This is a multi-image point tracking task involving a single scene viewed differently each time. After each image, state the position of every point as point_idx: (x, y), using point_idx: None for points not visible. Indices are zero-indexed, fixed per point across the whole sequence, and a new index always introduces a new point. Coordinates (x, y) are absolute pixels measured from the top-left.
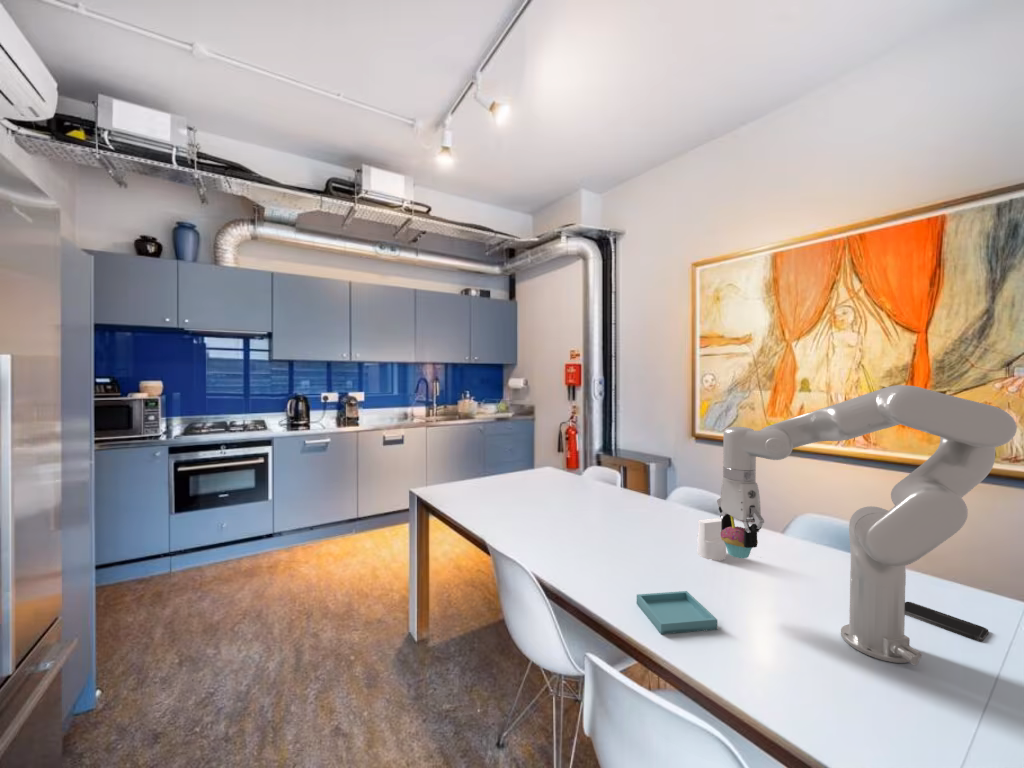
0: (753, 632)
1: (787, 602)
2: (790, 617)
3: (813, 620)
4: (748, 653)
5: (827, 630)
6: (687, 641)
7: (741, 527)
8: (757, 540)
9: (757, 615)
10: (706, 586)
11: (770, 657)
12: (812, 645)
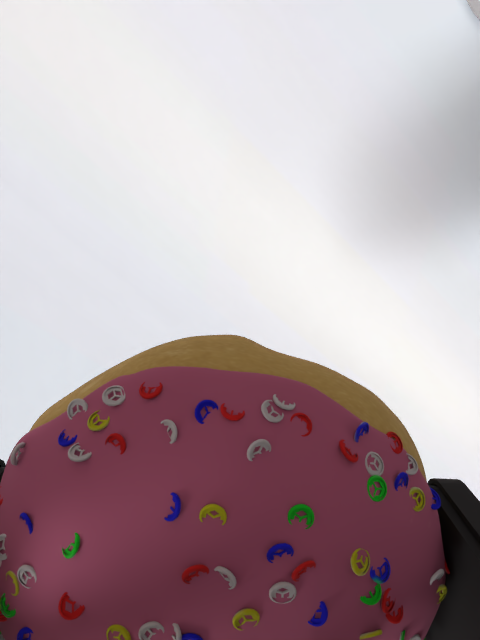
0: (355, 350)
1: (203, 20)
2: (311, 123)
3: (354, 33)
4: (435, 440)
5: (427, 42)
6: None
7: (179, 635)
8: (377, 403)
9: (268, 255)
10: (26, 307)
11: (471, 392)
12: (475, 202)
